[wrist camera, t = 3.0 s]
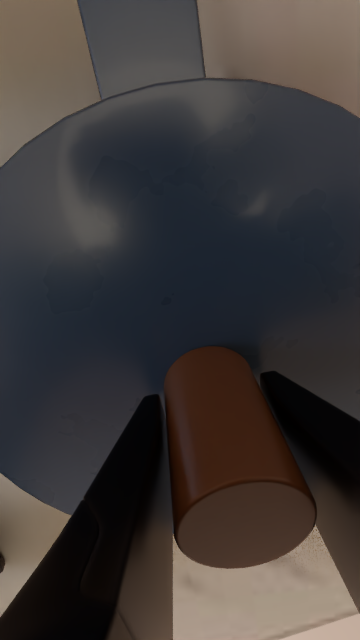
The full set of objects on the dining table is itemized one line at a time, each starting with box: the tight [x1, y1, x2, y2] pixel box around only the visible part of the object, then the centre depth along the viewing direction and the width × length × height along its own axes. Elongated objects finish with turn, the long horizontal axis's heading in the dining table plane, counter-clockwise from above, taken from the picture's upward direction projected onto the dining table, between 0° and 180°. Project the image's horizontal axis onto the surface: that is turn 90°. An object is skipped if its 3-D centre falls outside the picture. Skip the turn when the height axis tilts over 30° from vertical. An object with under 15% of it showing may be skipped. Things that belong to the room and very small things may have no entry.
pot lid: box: [0, 77, 360, 569], centre depth 8 cm, size 15×15×5 cm
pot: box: [77, 0, 206, 100], centre depth 13 cm, size 14×19×6 cm
